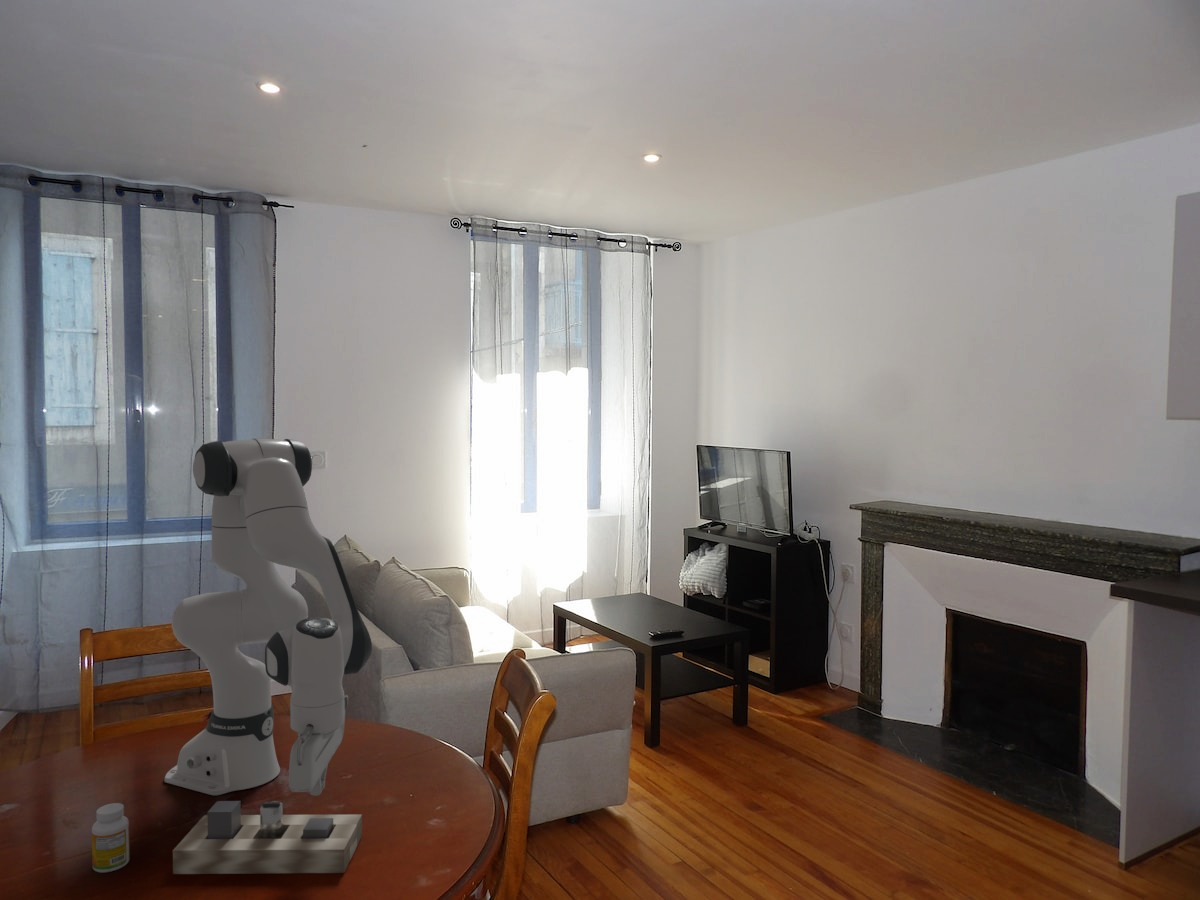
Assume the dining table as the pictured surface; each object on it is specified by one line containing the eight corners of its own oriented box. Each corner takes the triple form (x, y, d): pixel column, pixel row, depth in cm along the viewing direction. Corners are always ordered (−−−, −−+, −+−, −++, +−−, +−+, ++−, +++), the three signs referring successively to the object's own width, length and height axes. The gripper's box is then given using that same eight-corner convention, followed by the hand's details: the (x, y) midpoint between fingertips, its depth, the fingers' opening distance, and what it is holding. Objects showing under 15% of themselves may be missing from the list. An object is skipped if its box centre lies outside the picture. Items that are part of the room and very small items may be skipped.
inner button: (207, 840, 143) (207, 812, 143) (217, 828, 147) (217, 801, 147) (231, 840, 143) (231, 812, 143) (240, 828, 147) (240, 800, 147)
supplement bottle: (102, 856, 144) (101, 801, 144) (135, 855, 145) (134, 800, 144) (86, 874, 139) (84, 816, 138) (120, 873, 139) (119, 815, 139)
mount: (173, 874, 139) (172, 850, 139) (204, 836, 151) (204, 815, 151) (344, 872, 140) (344, 849, 140) (362, 836, 152) (362, 814, 152)
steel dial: (257, 839, 144) (256, 807, 143) (264, 829, 147) (264, 798, 147) (278, 839, 144) (278, 807, 144) (285, 829, 147) (285, 797, 147)
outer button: (303, 858, 144) (303, 829, 144) (310, 845, 148) (310, 818, 148) (326, 858, 144) (326, 829, 144) (333, 845, 148) (333, 818, 148)
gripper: (318, 740, 135) (318, 823, 136) (350, 692, 155) (350, 765, 156) (278, 739, 134) (278, 822, 136) (316, 692, 155) (316, 764, 156)
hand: (317, 791), depth 146 cm, fingers closed
